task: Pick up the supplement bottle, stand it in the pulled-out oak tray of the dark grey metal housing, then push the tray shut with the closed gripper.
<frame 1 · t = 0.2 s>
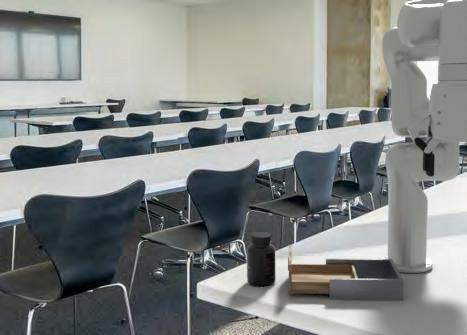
hand: (458, 175, 101), 31 cm above the table, fingers open, 9 cm apart
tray: (321, 269, 135), point 4 cm above the table, slide at 8.0 cm
supplement bottle: (261, 283, 140), on the table
housing: (360, 287, 135), on the table
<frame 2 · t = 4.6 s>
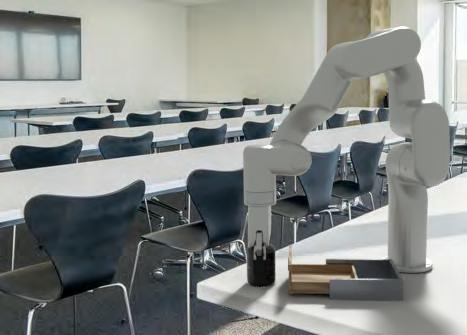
hand: (261, 270, 139), 3 cm above the table, fingers closed on supplement bottle, 6 cm apart
supplement bottle: (261, 283, 140), on the table, touching gripper
everything else where it was.
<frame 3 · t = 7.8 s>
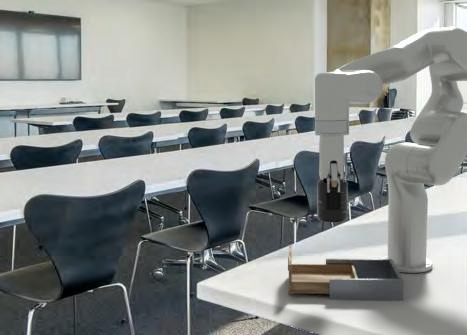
hand: (332, 205, 133), 19 cm above the table, fingers closed on supplement bottle, 6 cm apart
supplement bottle: (332, 220, 133), point 16 cm above the table, touching gripper
everything else where it was.
when the fingers open (6 cm above the table, at t = 10.9 s): supplement bottle stays where it is, resting on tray.
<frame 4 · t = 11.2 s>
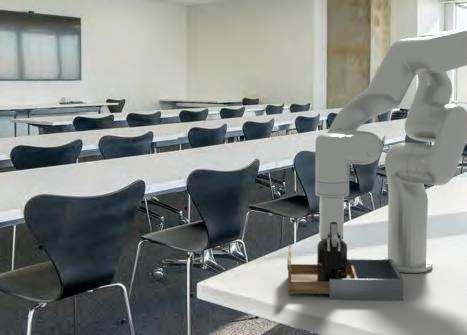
hand: (332, 261, 134), 6 cm above the table, fingers open, 9 cm apart
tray: (321, 269, 135), point 4 cm above the table, slide at 8.1 cm, touching supplement bottle
supplement bottle: (332, 281, 135), point 1 cm above the table, touching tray
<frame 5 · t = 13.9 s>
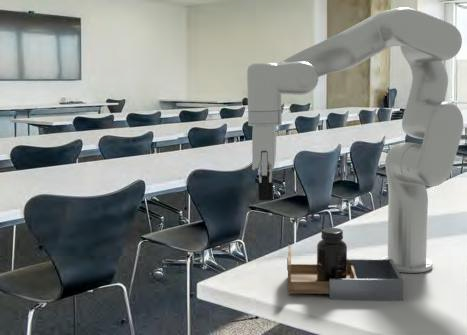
hand: (266, 198, 134), 21 cm above the table, fingers closed
nothing on the table moved.
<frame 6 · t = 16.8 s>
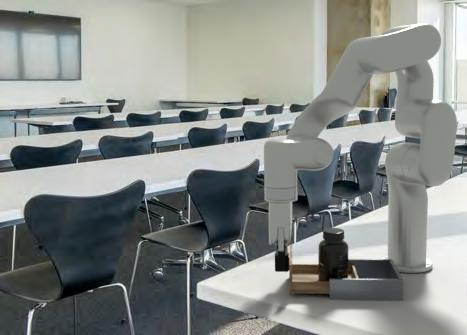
hand: (281, 270, 136), 4 cm above the table, fingers closed
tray: (322, 269, 135), point 4 cm above the table, slide at 7.8 cm, touching gripper, supplement bottle
everything else where it was.
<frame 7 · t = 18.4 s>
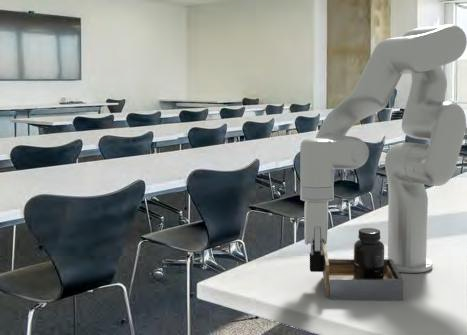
hand: (316, 270, 135), 4 cm above the table, fingers closed
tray: (357, 269, 134), point 4 cm above the table, slide at -0.2 cm, touching gripper, supplement bottle
supplement bottle: (368, 281, 134), point 1 cm above the table, touching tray
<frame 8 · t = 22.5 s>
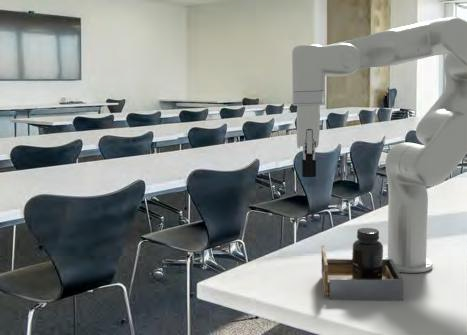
hand: (309, 176, 139), 25 cm above the table, fingers closed
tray: (356, 269, 134), point 4 cm above the table, slide at 0.1 cm, touching supplement bottle
everything else where it was.
at the end: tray slide at 0.1 cm; supplement bottle inside the target area on the housing (1.0 cm from its centre), point 1.5 cm above the housing's base; supplement bottle tilted 0° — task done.
